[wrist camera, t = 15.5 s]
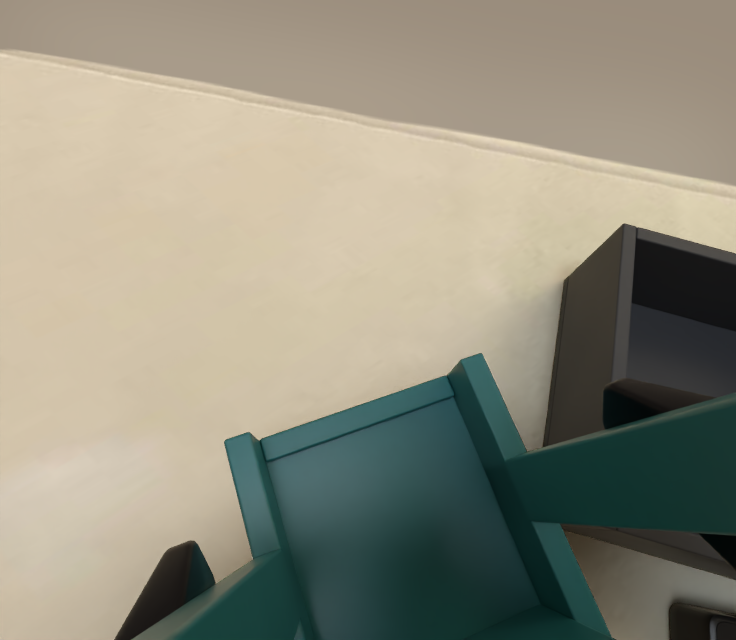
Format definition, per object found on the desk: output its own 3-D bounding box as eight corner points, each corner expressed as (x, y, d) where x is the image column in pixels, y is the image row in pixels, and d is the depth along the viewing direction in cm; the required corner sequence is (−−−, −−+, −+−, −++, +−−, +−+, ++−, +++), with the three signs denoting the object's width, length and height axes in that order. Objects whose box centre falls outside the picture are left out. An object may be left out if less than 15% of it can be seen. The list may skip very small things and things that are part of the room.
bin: (792, 342, 25) (911, 300, 20) (810, 601, 20) (970, 633, 15) (564, 279, 25) (623, 222, 20) (533, 520, 21) (599, 525, 16)
